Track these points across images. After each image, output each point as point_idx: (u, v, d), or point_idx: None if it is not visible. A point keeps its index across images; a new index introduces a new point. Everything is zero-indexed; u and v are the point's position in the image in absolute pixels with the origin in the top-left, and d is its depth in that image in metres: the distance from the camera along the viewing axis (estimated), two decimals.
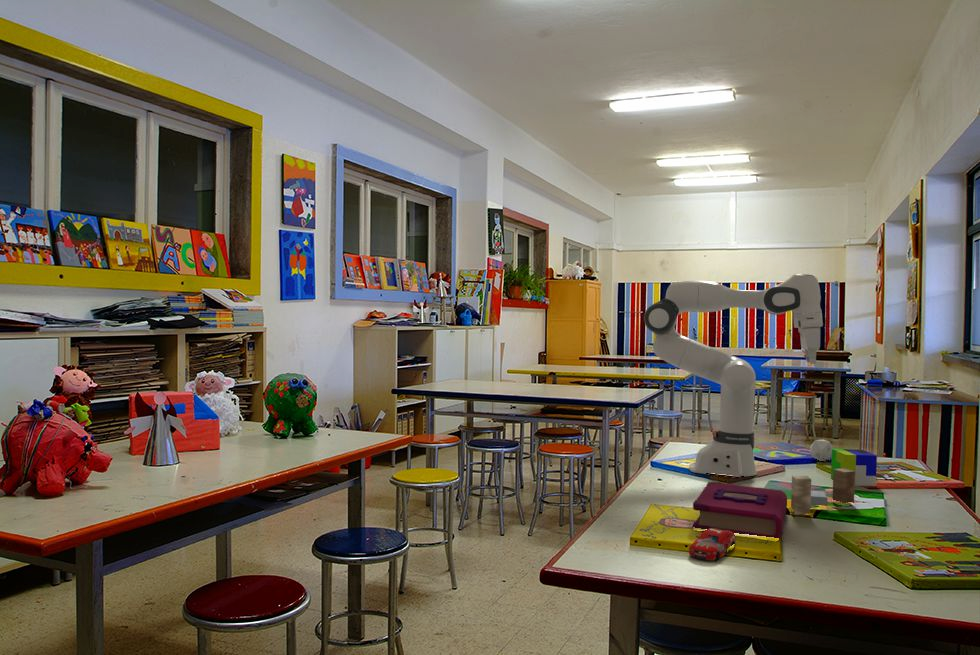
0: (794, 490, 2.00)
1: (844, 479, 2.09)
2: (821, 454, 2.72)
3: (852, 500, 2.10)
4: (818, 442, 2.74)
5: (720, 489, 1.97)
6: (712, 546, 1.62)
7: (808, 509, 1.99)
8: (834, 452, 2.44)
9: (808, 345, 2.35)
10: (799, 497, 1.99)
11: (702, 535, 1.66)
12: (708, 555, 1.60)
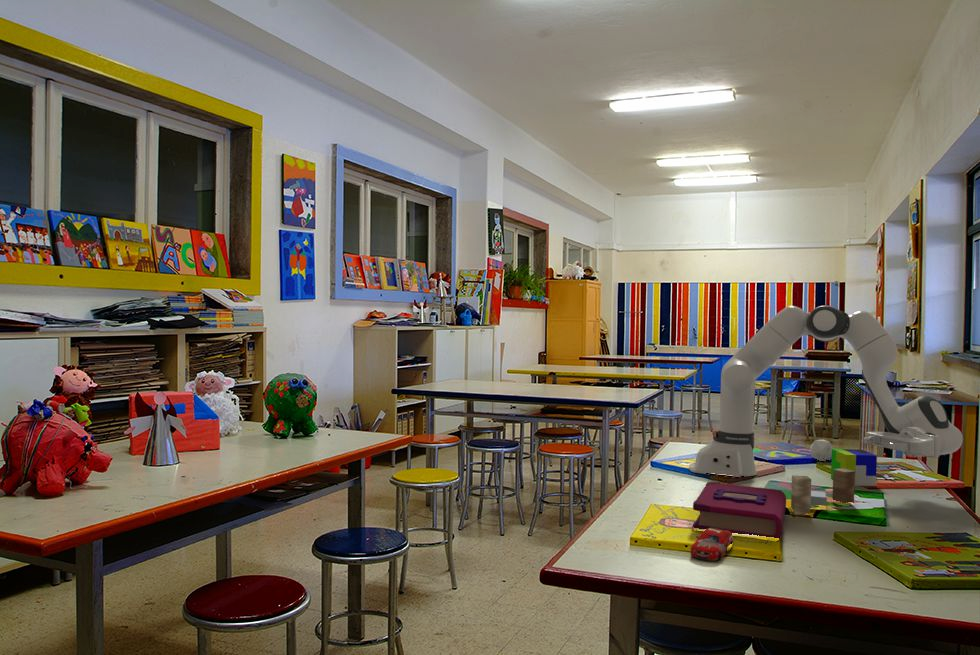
0: (794, 490, 2.00)
1: (844, 479, 2.09)
2: (821, 454, 2.72)
3: (852, 500, 2.10)
4: (818, 442, 2.74)
5: (719, 489, 1.97)
6: (714, 546, 1.61)
7: (808, 509, 1.99)
8: (834, 452, 2.44)
9: (924, 443, 2.07)
10: (799, 497, 1.99)
11: (702, 535, 1.66)
12: (711, 555, 1.60)
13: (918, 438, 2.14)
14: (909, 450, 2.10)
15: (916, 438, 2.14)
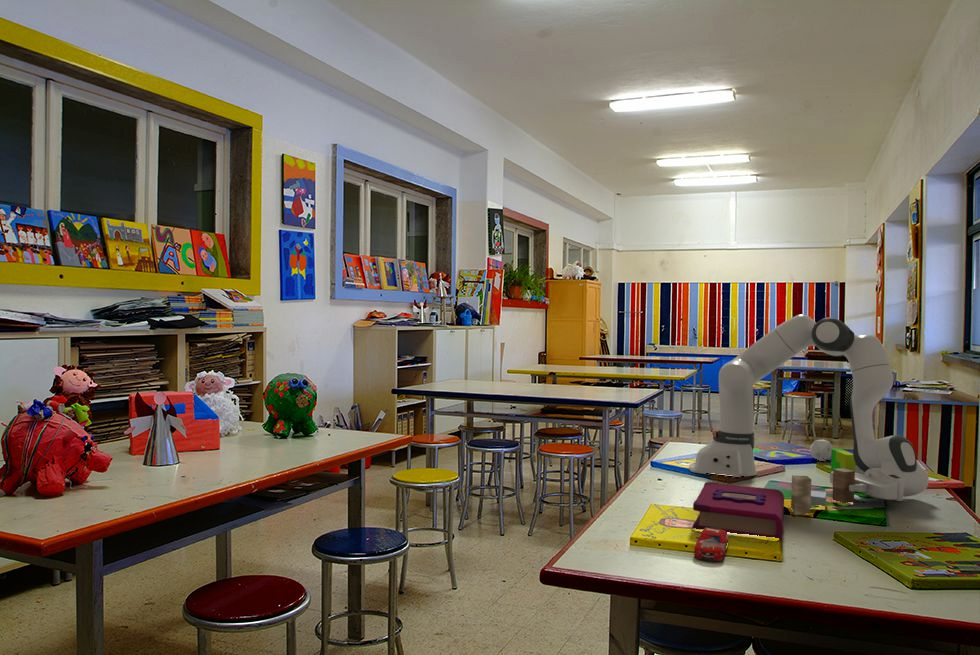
0: (794, 490, 2.00)
1: (844, 479, 2.09)
2: (821, 454, 2.72)
3: (852, 500, 2.10)
4: (818, 442, 2.74)
5: (718, 489, 1.97)
6: (717, 546, 1.61)
7: (808, 509, 1.99)
8: (834, 452, 2.44)
9: (886, 487, 2.04)
10: (799, 497, 1.99)
11: (702, 536, 1.66)
12: (716, 556, 1.59)
13: (882, 480, 2.10)
14: (872, 493, 2.06)
15: (880, 480, 2.11)
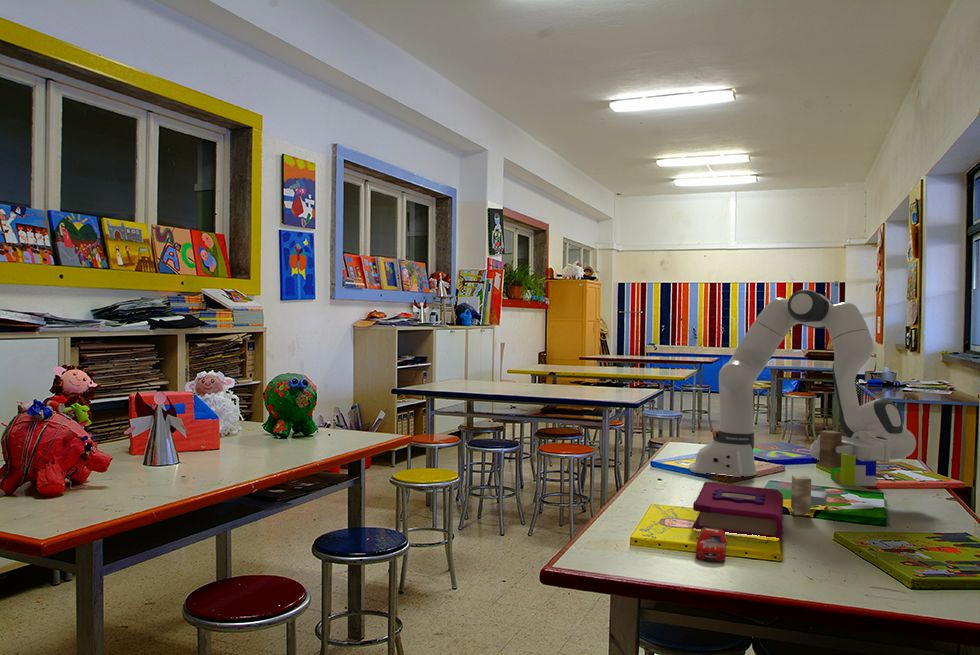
0: (794, 490, 2.00)
1: (831, 440, 2.07)
2: None
3: (839, 462, 2.09)
4: None
5: (718, 489, 1.97)
6: (719, 546, 1.61)
7: (808, 509, 1.99)
8: None
9: (873, 448, 2.02)
10: (799, 497, 1.99)
11: (703, 536, 1.66)
12: (719, 556, 1.59)
13: (869, 442, 2.09)
14: (859, 454, 2.05)
15: (867, 442, 2.09)
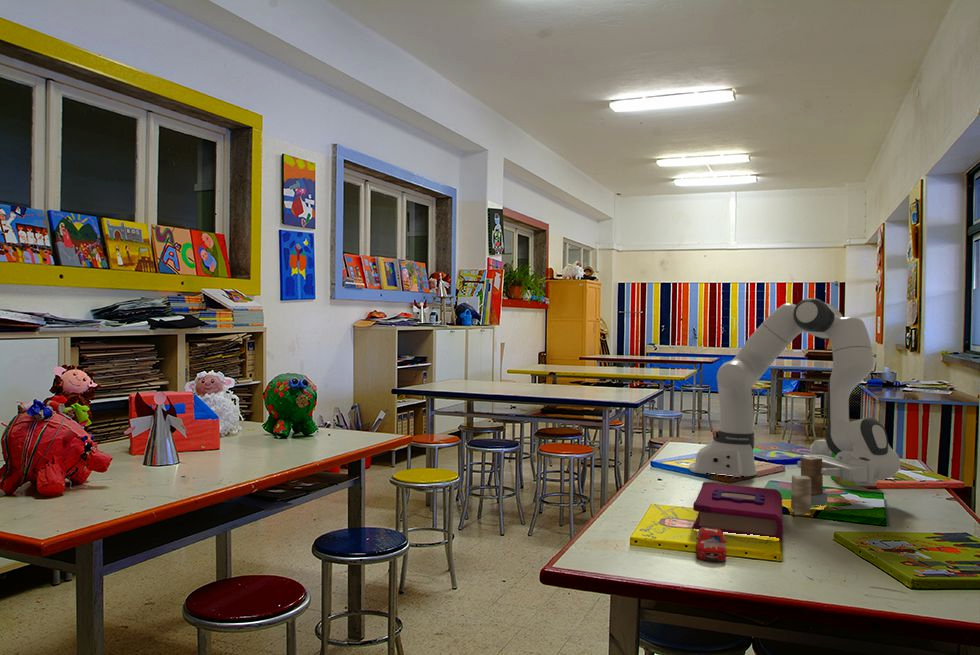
0: (794, 490, 2.00)
1: (811, 467, 2.06)
2: (821, 454, 2.72)
3: (821, 488, 2.07)
4: (818, 442, 2.74)
5: (717, 489, 1.97)
6: (720, 546, 1.61)
7: (808, 509, 1.99)
8: None
9: (856, 469, 2.00)
10: (799, 497, 1.99)
11: (703, 536, 1.66)
12: (720, 556, 1.59)
13: (852, 463, 2.07)
14: (841, 476, 2.03)
15: (850, 463, 2.07)
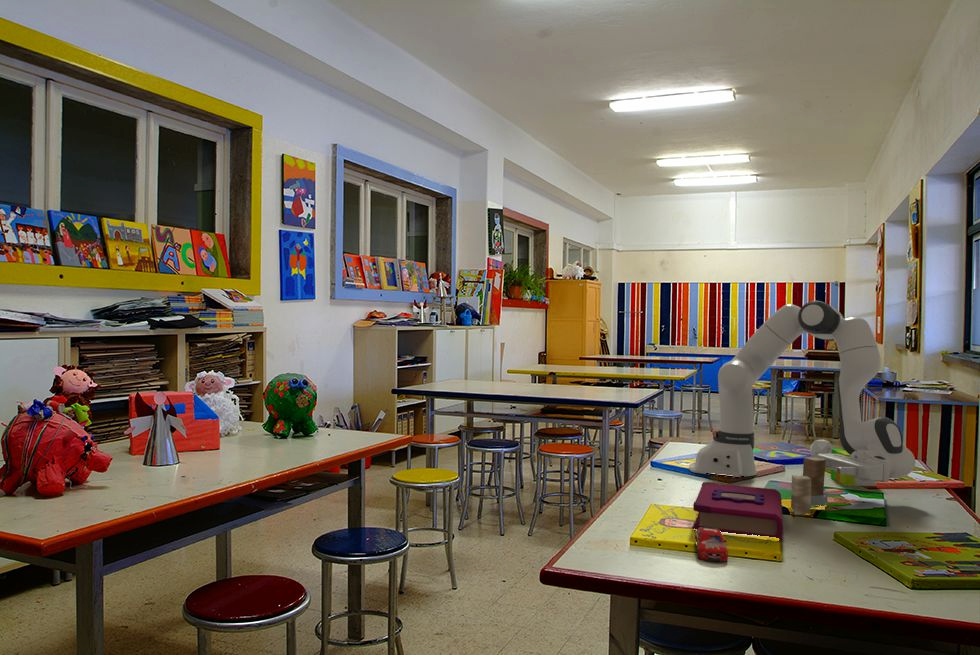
0: (794, 490, 2.00)
1: (814, 468, 2.06)
2: None
3: (822, 489, 2.07)
4: (818, 442, 2.74)
5: (717, 489, 1.97)
6: (721, 546, 1.61)
7: (808, 509, 1.99)
8: (834, 452, 2.44)
9: (871, 468, 2.02)
10: (799, 497, 1.99)
11: (703, 536, 1.65)
12: (722, 556, 1.59)
13: (867, 462, 2.08)
14: (857, 474, 2.05)
15: (865, 462, 2.09)
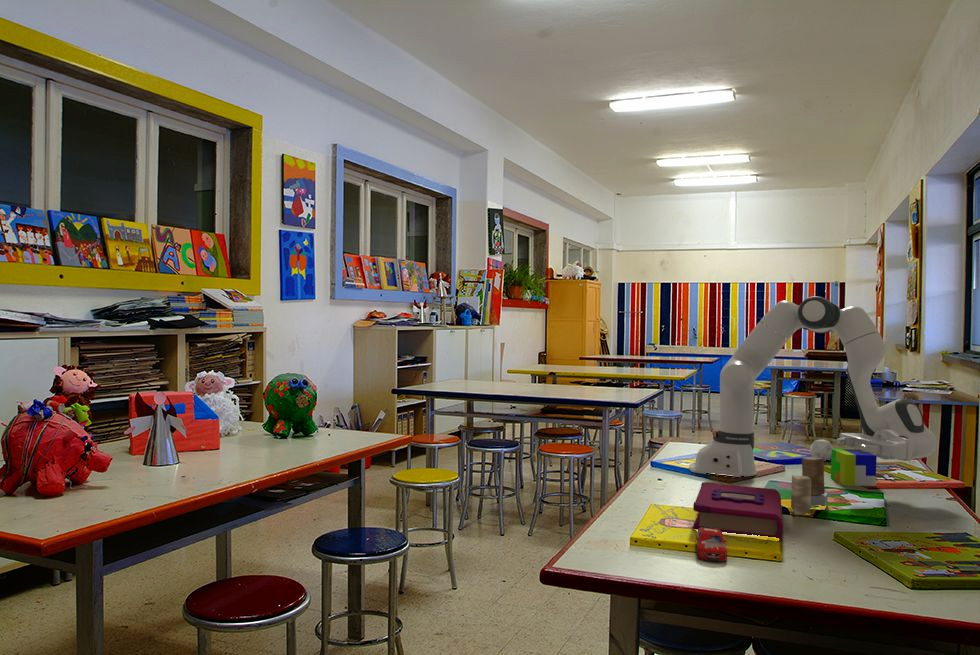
0: (794, 490, 2.00)
1: (813, 467, 2.06)
2: (821, 454, 2.72)
3: (822, 488, 2.07)
4: (818, 442, 2.74)
5: (716, 489, 1.97)
6: (721, 546, 1.61)
7: (808, 509, 1.99)
8: (834, 452, 2.44)
9: (895, 446, 2.06)
10: (799, 497, 1.99)
11: (703, 536, 1.65)
12: (721, 556, 1.59)
13: (891, 441, 2.12)
14: (881, 452, 2.09)
15: (889, 441, 2.13)
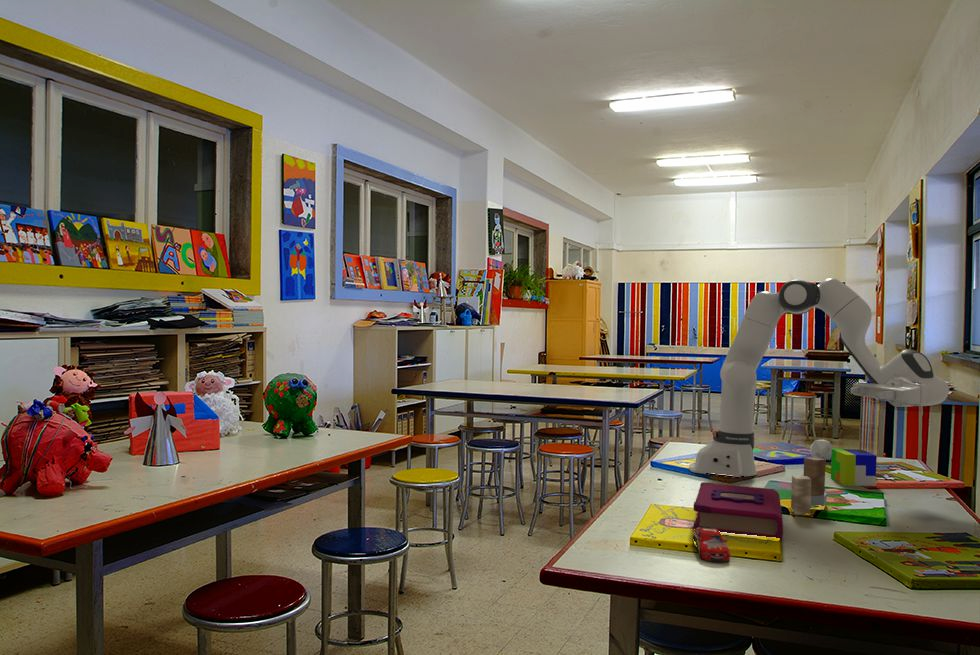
0: (794, 490, 2.00)
1: (815, 467, 2.06)
2: (821, 454, 2.72)
3: (822, 489, 2.07)
4: (818, 442, 2.74)
5: (716, 489, 1.96)
6: (723, 546, 1.61)
7: (808, 509, 1.99)
8: (834, 452, 2.44)
9: (910, 391, 2.09)
10: (799, 497, 1.99)
11: (704, 537, 1.65)
12: (725, 556, 1.59)
13: (904, 387, 2.16)
14: (895, 398, 2.12)
15: (902, 387, 2.16)
